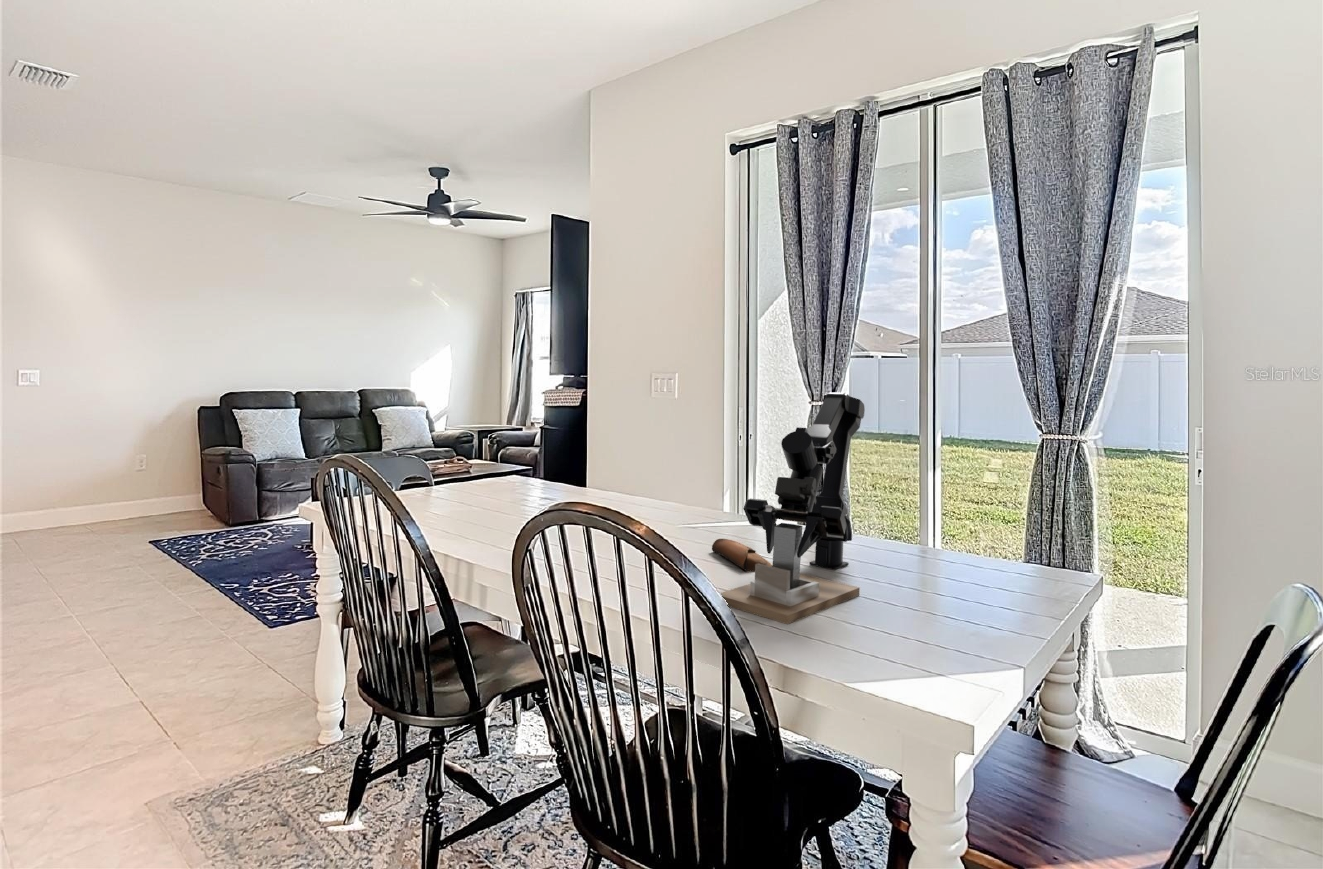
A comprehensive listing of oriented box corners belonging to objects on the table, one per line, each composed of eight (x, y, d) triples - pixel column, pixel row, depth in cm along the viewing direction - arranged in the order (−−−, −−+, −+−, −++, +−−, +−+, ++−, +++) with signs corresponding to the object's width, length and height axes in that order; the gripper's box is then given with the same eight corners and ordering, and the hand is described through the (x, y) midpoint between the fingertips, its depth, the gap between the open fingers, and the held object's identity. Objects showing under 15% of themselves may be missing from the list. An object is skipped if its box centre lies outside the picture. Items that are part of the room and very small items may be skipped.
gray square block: (777, 590, 136) (781, 522, 135) (798, 594, 134) (802, 525, 133) (770, 595, 132) (774, 526, 131) (791, 599, 131) (795, 529, 129)
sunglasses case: (778, 568, 157) (765, 543, 155) (753, 587, 155) (739, 562, 154) (743, 549, 174) (730, 527, 172) (719, 566, 172) (707, 543, 171)
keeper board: (790, 577, 150) (791, 542, 150) (859, 595, 139) (860, 557, 138) (715, 602, 133) (716, 562, 133) (787, 624, 122) (788, 580, 121)
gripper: (748, 457, 139) (724, 523, 130) (844, 464, 130) (826, 535, 122) (761, 491, 147) (739, 556, 138) (853, 500, 138) (836, 570, 129)
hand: (783, 554), depth 131 cm, fingers open, 5 cm apart
